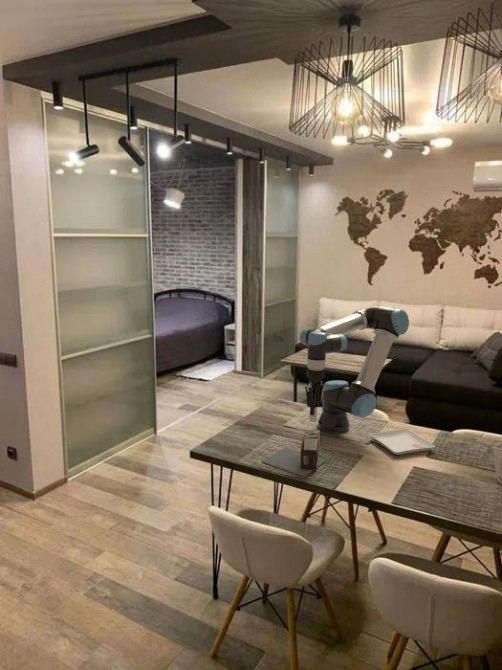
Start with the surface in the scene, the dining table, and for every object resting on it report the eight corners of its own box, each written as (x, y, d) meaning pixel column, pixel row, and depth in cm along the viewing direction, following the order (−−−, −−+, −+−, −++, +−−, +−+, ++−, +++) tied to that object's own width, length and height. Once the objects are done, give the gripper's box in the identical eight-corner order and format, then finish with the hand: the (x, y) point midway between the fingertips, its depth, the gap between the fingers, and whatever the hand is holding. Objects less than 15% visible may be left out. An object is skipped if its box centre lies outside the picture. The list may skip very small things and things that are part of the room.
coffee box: (304, 429, 212) (300, 448, 197) (319, 430, 210) (316, 449, 195) (304, 448, 214) (300, 469, 199) (320, 449, 213) (317, 470, 198)
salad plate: (394, 459, 212) (395, 451, 211) (367, 440, 232) (367, 433, 231) (436, 453, 219) (436, 445, 218) (406, 435, 239) (406, 428, 238)
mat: (285, 448, 220) (285, 447, 220) (326, 460, 208) (326, 459, 208) (262, 462, 205) (262, 461, 205) (304, 476, 194) (304, 475, 194)
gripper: (315, 364, 219) (312, 415, 223) (300, 369, 209) (297, 423, 213) (331, 367, 215) (327, 419, 219) (316, 372, 204) (313, 427, 209)
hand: (313, 421), depth 216 cm, fingers closed
